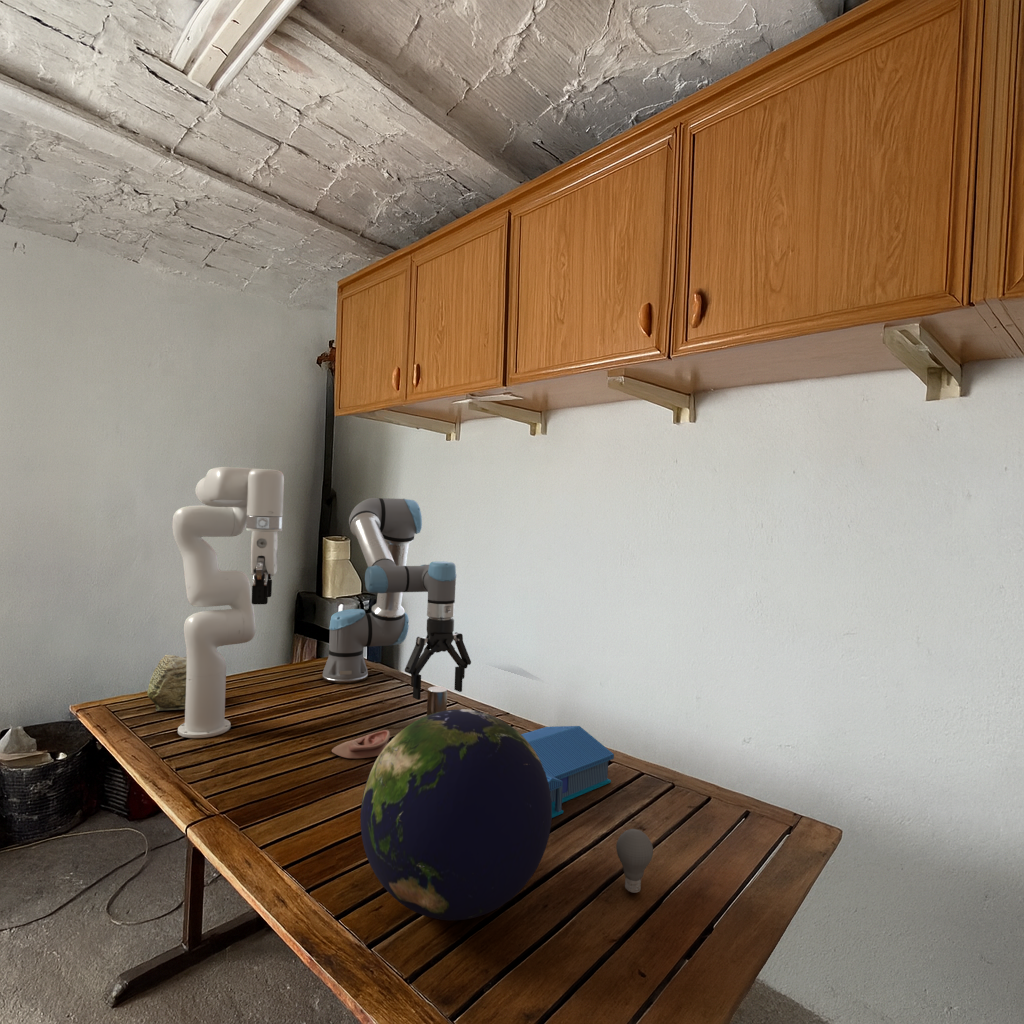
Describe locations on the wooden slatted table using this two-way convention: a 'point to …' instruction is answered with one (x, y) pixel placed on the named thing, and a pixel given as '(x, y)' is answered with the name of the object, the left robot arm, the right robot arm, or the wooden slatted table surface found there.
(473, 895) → the globe
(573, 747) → the model building
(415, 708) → the wooden slatted table surface
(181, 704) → the fossil
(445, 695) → the can
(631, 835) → the light bulb
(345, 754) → the anatomical model
